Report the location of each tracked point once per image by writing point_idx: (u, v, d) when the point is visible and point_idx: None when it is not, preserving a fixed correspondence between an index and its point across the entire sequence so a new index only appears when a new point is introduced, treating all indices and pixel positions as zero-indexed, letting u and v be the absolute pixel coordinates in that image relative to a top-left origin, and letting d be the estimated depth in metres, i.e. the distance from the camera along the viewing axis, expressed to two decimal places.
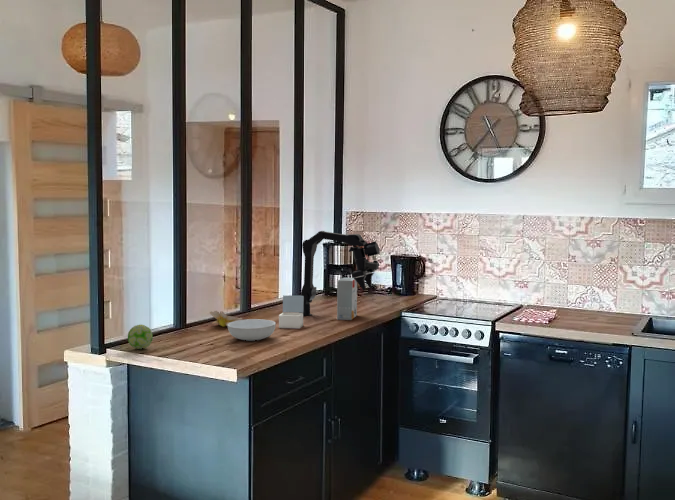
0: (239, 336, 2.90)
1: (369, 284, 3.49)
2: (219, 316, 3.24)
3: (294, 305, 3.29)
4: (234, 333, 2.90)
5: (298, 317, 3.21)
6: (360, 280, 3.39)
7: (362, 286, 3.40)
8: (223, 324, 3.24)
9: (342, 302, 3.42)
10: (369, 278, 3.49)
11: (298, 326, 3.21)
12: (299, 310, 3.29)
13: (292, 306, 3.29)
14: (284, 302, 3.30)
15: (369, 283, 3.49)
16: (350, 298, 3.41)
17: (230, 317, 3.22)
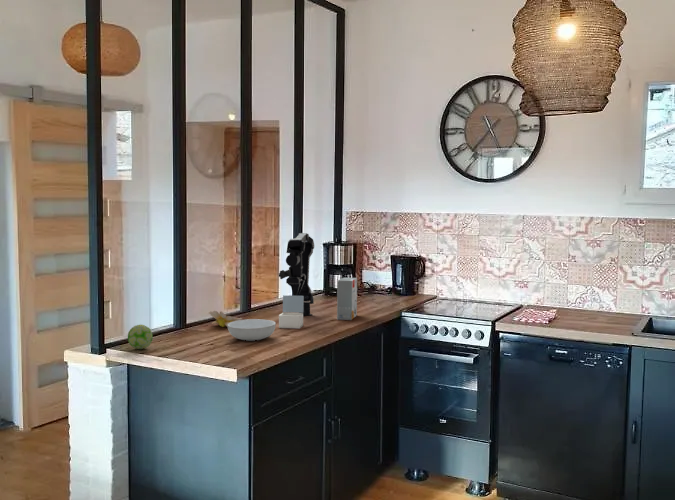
0: (239, 336, 2.90)
1: None
2: (218, 316, 3.24)
3: (294, 305, 3.29)
4: (234, 333, 2.90)
5: (298, 317, 3.21)
6: None
7: None
8: (222, 324, 3.24)
9: (342, 302, 3.42)
10: None
11: (298, 326, 3.21)
12: (299, 310, 3.29)
13: (292, 306, 3.29)
14: (284, 302, 3.30)
15: None
16: (350, 298, 3.41)
17: (229, 317, 3.22)
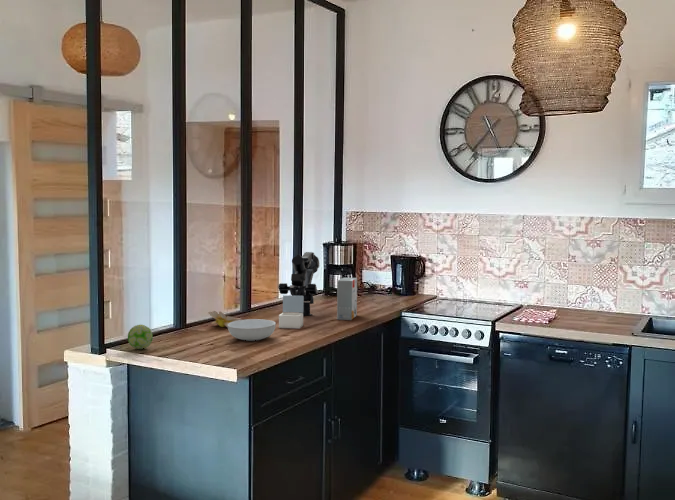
0: (239, 336, 2.90)
1: None
2: (218, 316, 3.23)
3: (294, 305, 3.29)
4: (234, 333, 2.90)
5: (298, 317, 3.21)
6: None
7: None
8: (222, 324, 3.24)
9: (342, 302, 3.42)
10: None
11: (298, 326, 3.21)
12: (299, 310, 3.29)
13: (292, 306, 3.29)
14: (284, 302, 3.30)
15: None
16: (350, 298, 3.41)
17: (229, 317, 3.21)
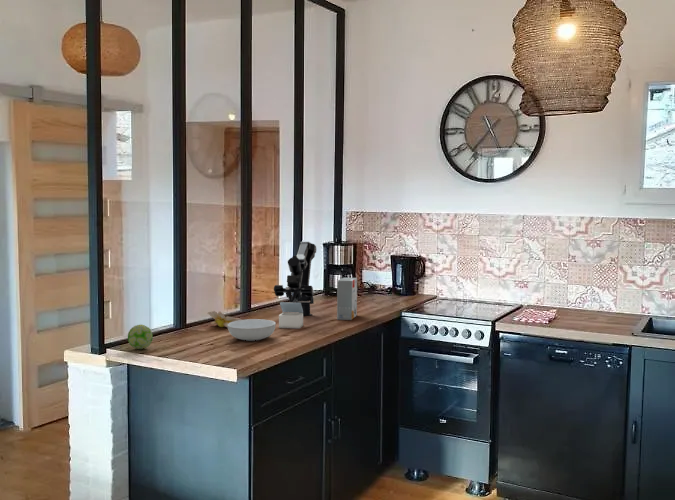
0: (239, 336, 2.90)
1: None
2: (217, 316, 3.23)
3: (293, 308, 3.26)
4: (234, 333, 2.90)
5: (298, 317, 3.21)
6: None
7: None
8: (221, 324, 3.23)
9: (342, 302, 3.42)
10: None
11: (298, 326, 3.21)
12: (299, 311, 3.28)
13: (291, 309, 3.27)
14: (282, 307, 3.26)
15: None
16: (350, 298, 3.41)
17: (228, 317, 3.21)
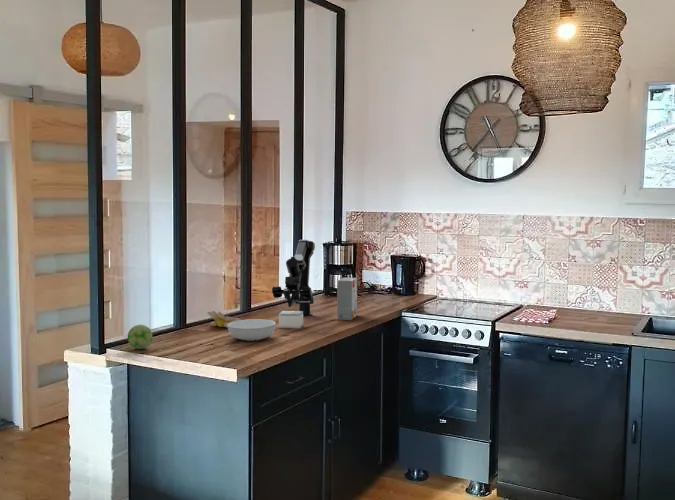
0: (239, 336, 2.90)
1: None
2: (217, 316, 3.23)
3: None
4: (234, 333, 2.90)
5: (298, 317, 3.21)
6: None
7: (288, 303, 3.23)
8: (221, 324, 3.23)
9: (342, 302, 3.42)
10: None
11: (298, 326, 3.21)
12: (299, 312, 3.28)
13: None
14: None
15: None
16: (350, 298, 3.41)
17: (228, 317, 3.21)
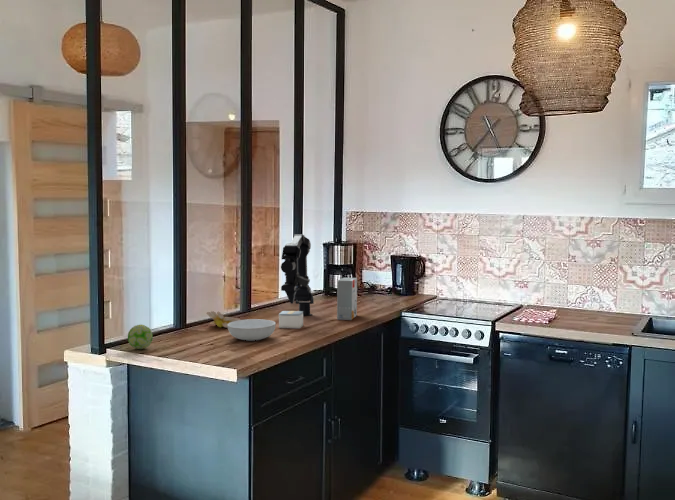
0: (239, 336, 2.90)
1: None
2: (216, 317, 3.22)
3: None
4: (234, 333, 2.90)
5: (298, 317, 3.21)
6: (290, 293, 3.25)
7: (290, 299, 3.25)
8: (220, 325, 3.23)
9: (342, 302, 3.42)
10: None
11: (298, 326, 3.21)
12: (299, 312, 3.28)
13: None
14: None
15: None
16: (350, 298, 3.41)
17: (227, 318, 3.20)
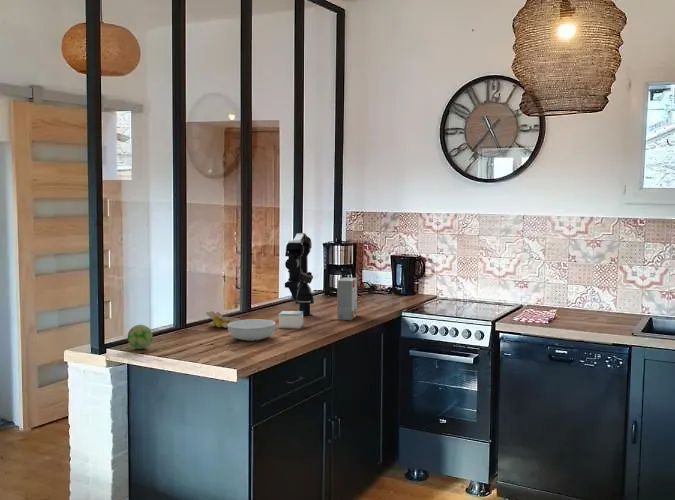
0: (239, 336, 2.90)
1: None
2: (215, 317, 3.22)
3: None
4: (234, 333, 2.90)
5: (298, 317, 3.21)
6: (293, 289, 3.27)
7: (294, 296, 3.28)
8: (219, 325, 3.22)
9: (342, 302, 3.42)
10: None
11: (298, 326, 3.21)
12: (299, 312, 3.28)
13: None
14: None
15: None
16: (350, 298, 3.41)
17: (226, 318, 3.20)
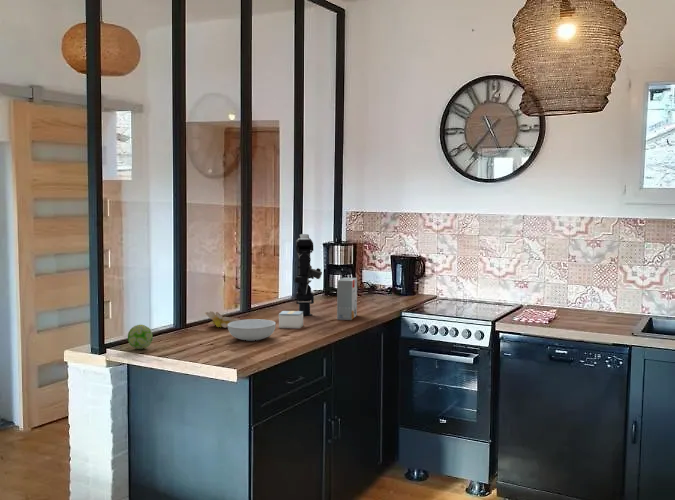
0: (239, 336, 2.90)
1: None
2: (215, 317, 3.22)
3: None
4: (234, 333, 2.90)
5: (298, 317, 3.21)
6: (303, 285, 3.38)
7: (303, 291, 3.38)
8: (219, 325, 3.22)
9: (342, 302, 3.42)
10: None
11: (298, 326, 3.21)
12: (299, 312, 3.28)
13: None
14: None
15: None
16: (350, 298, 3.41)
17: (226, 318, 3.20)
